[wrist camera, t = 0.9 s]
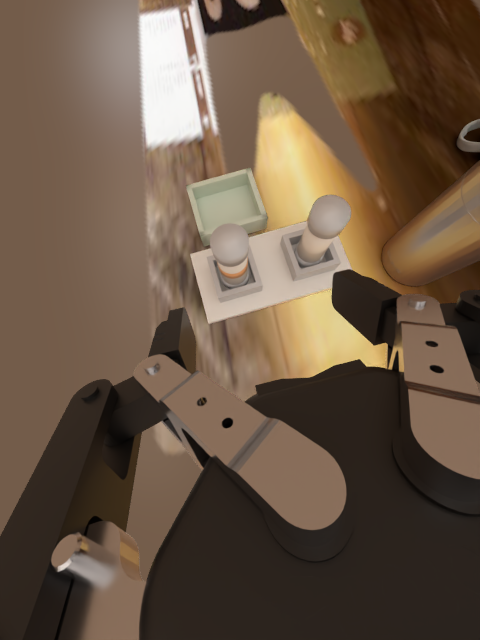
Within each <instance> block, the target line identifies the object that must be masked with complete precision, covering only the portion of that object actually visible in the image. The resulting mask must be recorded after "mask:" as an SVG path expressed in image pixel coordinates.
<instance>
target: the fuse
mask: <svg viewBox="0 0 480 640" xmlns="http://www.w3.org/2000/svg"><path fill="white" fill-rule="evenodd" d="M350 217H351V209H350V206H349V204H348V203H347V202H346V201H345V200H344V199H343V198H341V197H339V196H336V195H325V196H322V197H320V198H318V199H317V200H316V201H315V202H314V204H313V206H312V209H311V211H310V214H309V216H308V219H307V225H306V228H305V230H304V232H303V235H302V237H301V239H300V241H299V242H298V244H297V246H296V248H295V251H294V254H295V256H296V259H297V262H298V265H299V267H300V268H302V269H303V268H306V267H310V266H313V265H317V264H319V263H320V261H321V260H322V258H323V257H324V254H325V252H326V250H327V249H328V247H329V246H330V245H331V243H332V242H333V240H334V239H335V237H336V236H338V235H339V234H340V233H341V232H342V230H343V229H344V227H345V226H346V224H347V223H348V222H349V220H350Z"/></svg>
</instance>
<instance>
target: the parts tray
mask: <svg viewBox="0 0 480 640" xmlns="http://www.w3.org/2000/svg"><path fill="white" fill-rule="evenodd" d="M186 188H187V191H188V195H189V198H190V202H191V205H192V209H193V213H194V216H195V220H196V223H197V227H198V230H199V234H200V237H201V240H202V242H203V245H204V247H205V246H208V245H210V237H211V235H212V233H213V231H214V230H215V229H216V228H217V227H219V226H221V225H223V224H228V223H232V224H237V225H239V226H241V227H242V228H243V229H244V230H245V231H246V232H247V234H250V233H254V232H257V231H261V230H264V229H266V227H267V219H268V217H267V214H266V211H265V208H264V206H263V203H262V200H261V197H260V194H259V191H258V188H257V186H256V183H255V180H254V177H253V174H252V171H251V169H250V168H247V169H243V170H240V171H237V172H233V173H229V174H226V175H222V176H219V177H215V178H211V179H208V180H204V181H201V182H197V183H194V184H190V185H187V186H186Z"/></svg>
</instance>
